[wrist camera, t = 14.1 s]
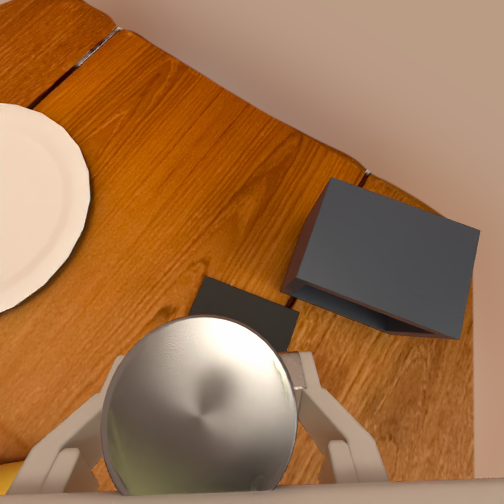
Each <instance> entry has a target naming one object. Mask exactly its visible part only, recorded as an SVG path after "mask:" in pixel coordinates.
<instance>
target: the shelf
mask: <svg viewBox="0 0 504 504" xmlns="http://www.w3.org/2000/svg"><path fill="white" fill-rule="evenodd" d="M479 235H480V230H478V229H475V228H472V227H469V226H466V225H464V224H461V223H458V222H455V221H452V220H450V219H447V218H444V217H441V216H439V215H436V214H433V213H430V212H427V211H425V210H422V209H419V208H416V207H413V206H411V205H408V204H405V203H402V202H399V201H397V200H394V199H391V198H388V197H386V196H383V195H380V194H377V193H374V192H372V191H369V190H366V189H363V188H360V187H358V186H355V185H352V184H349V183H346V182H344V181H341V180H338V179H335V178H332V177H331V178H330V180H329V181H328V183H327V185H326V186H325V188H324V190H323V191H322V193H321V195H320V196H319V198H318V200H317V201H316V203H315V205H314V206H313V208H312V210H311V211H310V213H309V215H308V216H307V218H306V220H305V222H304V225H303V228H302V231H301V234H300V236H299V239H298V242H297V245H296V247H295V250H294V253H293V256H292V259H291V261H290V264H289V267H288V270H287V273H286V275H285V278H284V281H283V284H282V286H281V289H280V292H282V293H284V294H287V295H289V296H292V297H295V298H297V299H300V300H302V301H305V302H308V303H310V304H313V305H315V306H318V307H320V308H323V309H326V310H328V311H331V312H333V313H336V314H338V315H341V316H344V317H346V318H349V319H351V320H354V321H357V322H359V323H362V324H364V325H367V326H369V327H372V328H375V329H377V330H380V331H382V332H385V333H387V334H390V335H400V336H414V337H427V338H441V339H453V340H460V335H461V330H462V324H463V319H464V314H465V309H466V303H467V298H468V293H469V288H470V282H471V277H472V272H473V267H474V261H475V256H476V251H477V246H478V240H479Z"/></svg>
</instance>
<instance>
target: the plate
mask: <svg viewBox="0 0 504 504" xmlns="http://www.w3.org/2000/svg"><path fill="white" fill-rule="evenodd" d="M90 201H91V193H90V177H89V170H88V168H87V165H86V163H85V160H84V157H83V155H82V152H81V150H80V148H79V146H78V145H77V144H76V143H75V142H74V140H73V139H72V138H71V137H70V135H69V134H68V133H67V132H66V130H65V129H64V128H63V127H61V126H60V125H58V124H57V123H55V122H54V121H52V120H51V119H49V118H48V117H47V116H45V115H44V114H42V113H39V112H36V111H33V110H30V109H27V108H24V107H21V106H18V105H14V104H2V103H0V313H2V312H4V311H6V310H8V309H11V308H13V307H15V306H17V305H18V304H19V303H21V302H22V301H24V300H25V299H26V298H28V297H29V296H30V295H32V294H33V293H34V292H36V291H37V290H39V289H40V288H41V287H43V286H44V285H45V284H46V283H47V282H48V281H49V280H50V279H51V278H52V276H53V275H54V274H55V273H56V272H57V271H58V270H59V268H60V267H61V266H62V265H63V264H64V263H65V262H66V260H67V259H68V258H69V257H70V255H71V253H72V251H73V249H74V247H75V245H76V243H77V241H78V239H79V238H80V236H81V234H82V232H83V230H84V227H85V223H86V219H87V214H88V210H89V206H90Z"/></svg>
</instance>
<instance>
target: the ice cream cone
mask: <svg viewBox="0 0 504 504" xmlns="http://www.w3.org/2000/svg"><path fill="white" fill-rule="evenodd" d="M23 463H24V461H19V462H13V463H8V464H2V465H0V495H5V494H6V492H7V491H8V489H9V487H10V486H11V484H12V482H13V480H14V479H15V477H16V475H17V473H18V472H19V470H20V468H21V466H22V465H23Z"/></svg>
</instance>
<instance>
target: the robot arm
mask: <svg viewBox="0 0 504 504" xmlns="http://www.w3.org/2000/svg"><path fill="white" fill-rule="evenodd" d="M277 353H278V354H279V355H280V357H281V358H282V360H283V362H284V364H285V366H286V368H287V370H288V372H289V374H290V377H291V380H292V382H293V386H294V390H295V394H296V400H297V409H298V420H299V421H300V422H301V424H302V425H303V427H304V428H305V430H306V431H307V432H308V434H309V435H310V437H311V438H312V440H313V441H314V442H315V444H316V445H317V447H318V448H319V450H320V451H321V452H322V454H323V455H324V460H323V463H322V467H321V470H320V473H319V477H318V480H319V484H308V485H279V486H276V488H275V489H274V490H272V491H255V492H227V493H199V494H171V495H143V496H122V495H121V494H120V493H119V491H104V492H98V490H99V487H100V485H99V483H98V481H97V479H96V477H95V476H94V474H93V472H92V471H91V470H92V469H93V467H94V466H95V465H96V464H97V463H98V461H99V460H100V459H101V458H102V457H103V451H102V445H101V434H100V431H101V415H102V408H103V403H104V399H105V395H106V392H107V389H108V386H109V384H110V381H111V379H112V376H113V375H114V373H115V371H116V369H117V367H118V365H119V364H120V362H121V361H122V360H123V358H124V357H125V355H118V356H117V358H116V359H115V361H114V363H113V365H112V367H111V370H110V372H109V374H108V376H107V378H106V380H105V383H104V385H103V387H102V389H101V391H100V393H96V394H95V395H93V396H92V397H91V398H90V399H89V400H88V401H86V402H85V403H84V404H83V405H82V406H80V407H79V408H78V409H77V410H76V411H75V412H73V413H72V414H71V415H70V416H69V417H68V418H66V419H65V420H64V421H63V422H62V423H61V424H59V425H58V426H57V427H56V428H55V429H54V430H52V431H51V432H50V433H49V434H48V435H47V436H45V437H44V438H43V439H42V440H41V441H40V442H38V443H37V444H36V445H35V446H34V447H33V448H32V449H31V451H30V453H29V454H28V456H27V458H26V459H25V461H24V463H23V465H22V466H21V468H20V470H19V472H18V473H17V475H16V477H15V479H14V480H13V482H12V484H11V486H10V487H9V489H8V491H7V492H6V494H5V495H0V504H504V478H485V479H484V478H483V479H454V480H425V481H396V482H390V481H389V478H388V475H387V472H386V470H385V467H384V464H383V462H382V459H381V456H380V454H379V451H378V448H377V446H376V443H375V440H374V438H373V437H372V436H371V435H370V434H369V433H368V432H367V431H366V430H365V429H364V428H363V427H362V426H361V425H360V424H359V423H358V422H357V421H356V420H355V419H354V418H353V416H352V415H351V414H350V413H349V412H348V411H347V410H346V409H345V408H344V407H343V406H342V405H341V404H340V403H339V402H338V401H337V400H336V399H335V398H334V397H333V396H332V395H331V394H330V393H329V392H328V391H327V390H326V389H325V388H321V385H320V381H319V378H318V374H317V370H316V366H315V363H314V359H313V355H312V353H311V351H307V352H298V351H295V352H277Z"/></svg>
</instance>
